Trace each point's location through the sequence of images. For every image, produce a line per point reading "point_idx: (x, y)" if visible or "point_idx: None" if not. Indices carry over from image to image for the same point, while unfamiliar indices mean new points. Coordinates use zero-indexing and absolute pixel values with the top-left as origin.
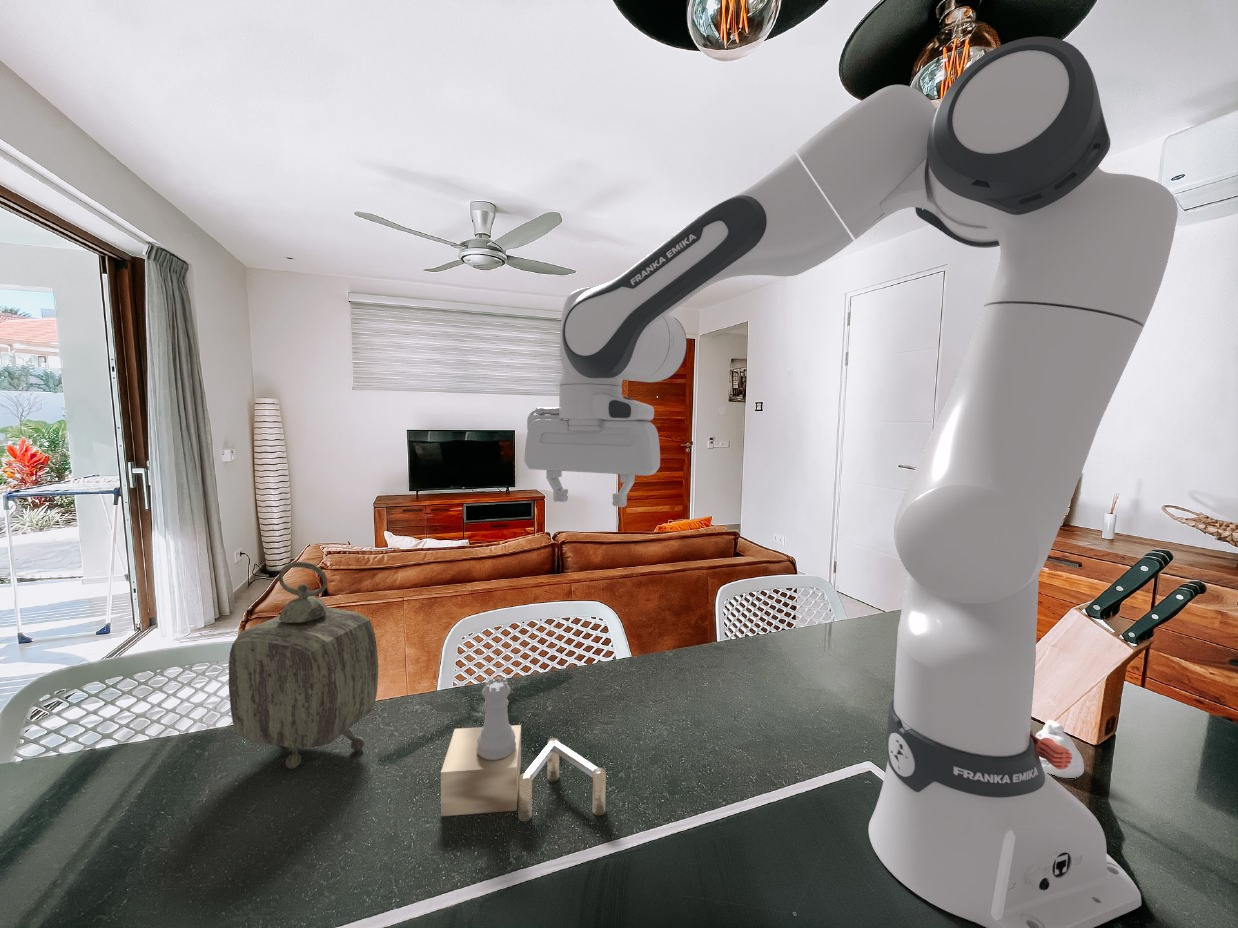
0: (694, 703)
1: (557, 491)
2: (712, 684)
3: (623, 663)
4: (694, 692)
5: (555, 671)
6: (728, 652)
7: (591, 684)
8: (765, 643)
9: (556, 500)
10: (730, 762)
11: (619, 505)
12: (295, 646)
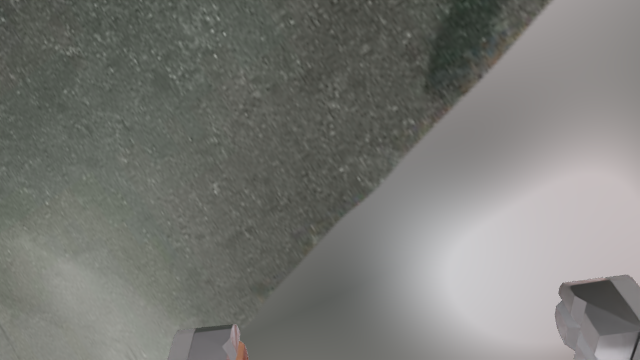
0: (198, 130)
1: (632, 324)
2: (206, 192)
3: (368, 176)
4: (216, 158)
5: (465, 90)
6: (239, 284)
7: (379, 88)
8: None
9: (607, 277)
10: (60, 14)
11: (193, 330)
12: None
